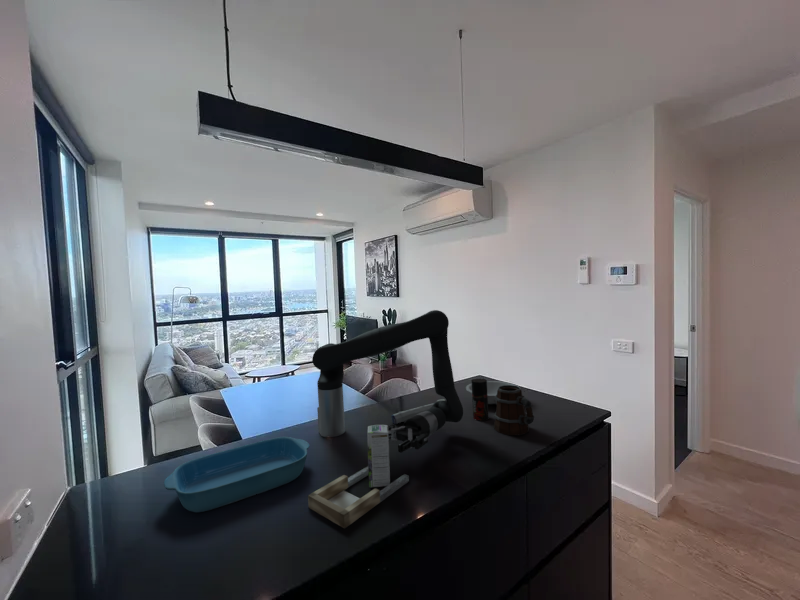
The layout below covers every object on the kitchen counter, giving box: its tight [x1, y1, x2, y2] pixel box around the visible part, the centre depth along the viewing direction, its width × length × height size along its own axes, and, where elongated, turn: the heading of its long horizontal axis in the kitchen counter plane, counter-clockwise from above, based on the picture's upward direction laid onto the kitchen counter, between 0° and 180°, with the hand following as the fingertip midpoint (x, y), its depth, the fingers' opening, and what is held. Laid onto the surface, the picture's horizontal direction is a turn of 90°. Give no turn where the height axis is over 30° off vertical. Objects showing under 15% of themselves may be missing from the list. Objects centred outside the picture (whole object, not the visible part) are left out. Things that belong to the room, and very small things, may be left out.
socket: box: [307, 474, 381, 529], centre depth 83 cm, size 12×13×3 cm
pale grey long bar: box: [390, 398, 447, 425], centre depth 139 cm, size 5×7×25 cm
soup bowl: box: [465, 380, 522, 405], centre depth 155 cm, size 24×24×7 cm
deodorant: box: [470, 378, 490, 422], centre depth 136 cm, size 6×6×15 cm
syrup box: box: [366, 424, 391, 489], centre depth 93 cm, size 6×6×14 cm
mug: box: [493, 385, 535, 436], centre depth 122 cm, size 16×12×15 cm
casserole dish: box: [163, 436, 311, 513], centre depth 96 cm, size 37×22×7 cm, turn 126°
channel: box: [348, 465, 410, 503], centre depth 92 cm, size 12×13×2 cm
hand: (387, 445), depth 96 cm, fingers open, 8 cm apart
